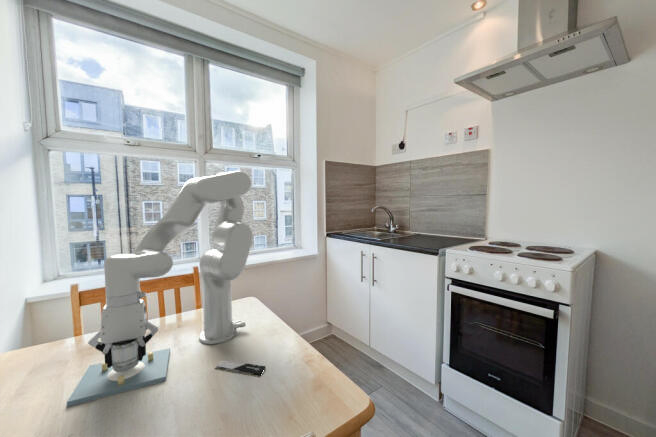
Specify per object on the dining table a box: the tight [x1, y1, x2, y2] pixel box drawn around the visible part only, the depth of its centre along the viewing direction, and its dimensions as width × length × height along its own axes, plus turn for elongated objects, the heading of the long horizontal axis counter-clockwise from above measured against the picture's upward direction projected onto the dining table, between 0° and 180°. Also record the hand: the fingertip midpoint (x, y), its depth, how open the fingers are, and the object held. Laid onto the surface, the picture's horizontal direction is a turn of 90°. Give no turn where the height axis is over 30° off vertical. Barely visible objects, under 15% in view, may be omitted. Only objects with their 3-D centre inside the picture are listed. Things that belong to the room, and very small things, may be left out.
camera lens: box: [111, 339, 140, 372], centre depth 74 cm, size 6×6×8 cm
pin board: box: [66, 347, 171, 408], centre depth 74 cm, size 20×16×3 cm
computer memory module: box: [214, 360, 267, 378], centre depth 77 cm, size 15×1×4 cm
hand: (126, 361), depth 74 cm, fingers closed on camera lens, 6 cm apart
